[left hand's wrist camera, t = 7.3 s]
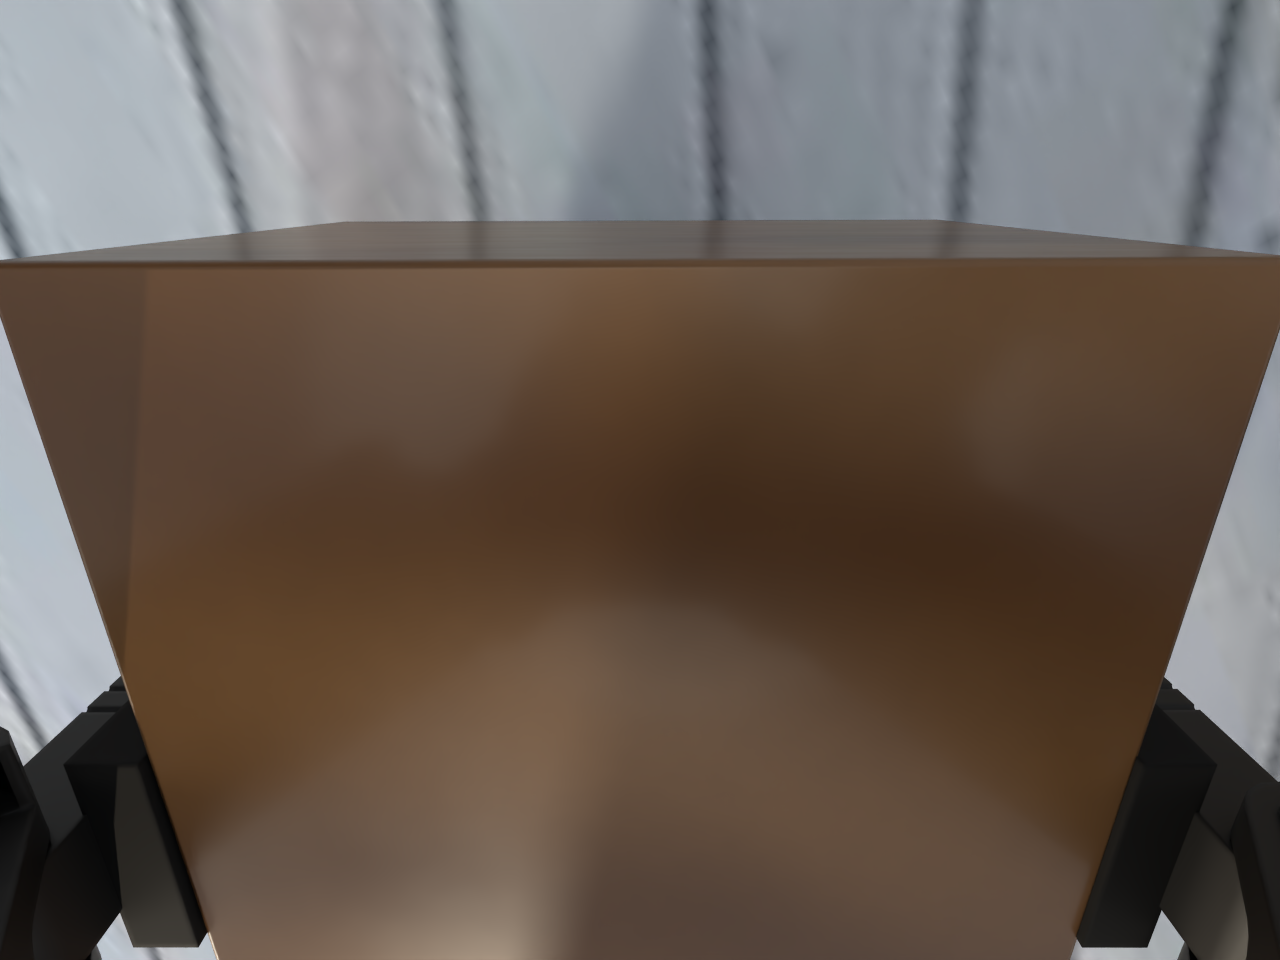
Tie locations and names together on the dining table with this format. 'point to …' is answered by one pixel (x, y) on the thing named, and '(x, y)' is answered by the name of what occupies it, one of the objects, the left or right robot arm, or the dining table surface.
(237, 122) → the dining table surface
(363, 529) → the thick board
